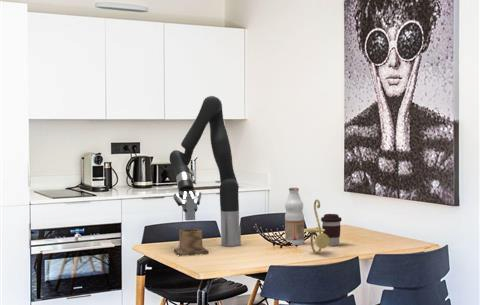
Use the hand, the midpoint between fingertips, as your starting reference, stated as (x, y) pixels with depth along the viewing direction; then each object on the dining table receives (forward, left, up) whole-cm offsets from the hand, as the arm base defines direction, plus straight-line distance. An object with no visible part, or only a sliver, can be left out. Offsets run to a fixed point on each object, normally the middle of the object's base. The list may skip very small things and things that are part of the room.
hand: (190, 211), depth 282 cm
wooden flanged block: (0, -2, -20) cm, 20 cm away
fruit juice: (-54, -6, -20) cm, 58 cm away
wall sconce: (-53, +23, -20) cm, 61 cm away
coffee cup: (-69, +5, -20) cm, 72 cm away
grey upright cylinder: (0, -2, -4) cm, 5 cm away
